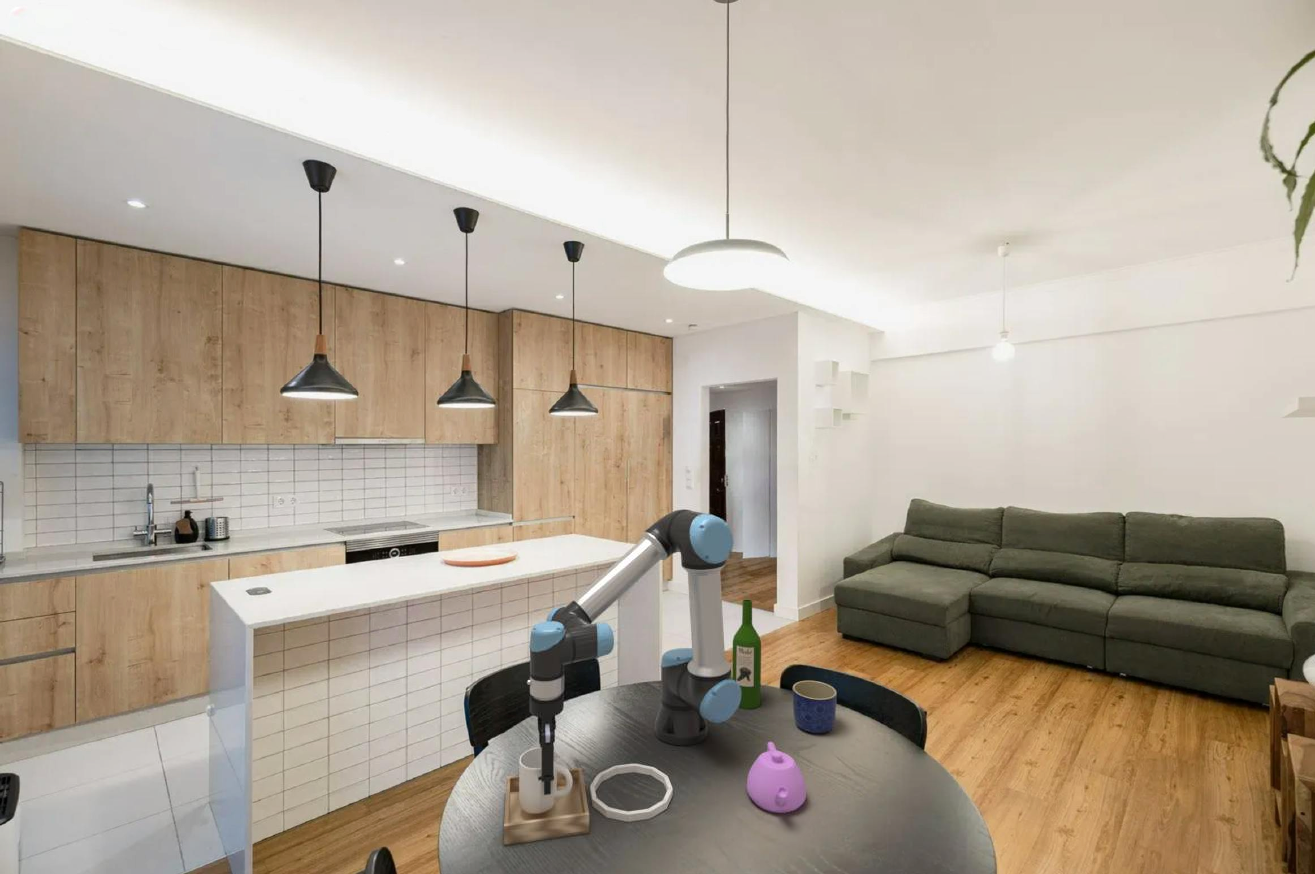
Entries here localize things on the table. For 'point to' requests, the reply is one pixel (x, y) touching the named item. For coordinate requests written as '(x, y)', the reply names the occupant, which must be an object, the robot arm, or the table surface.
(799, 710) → the planter
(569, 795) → the oak bin
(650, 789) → the table surface
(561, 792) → the mug
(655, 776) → the socket ring
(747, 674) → the wine bottle
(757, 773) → the teapot
